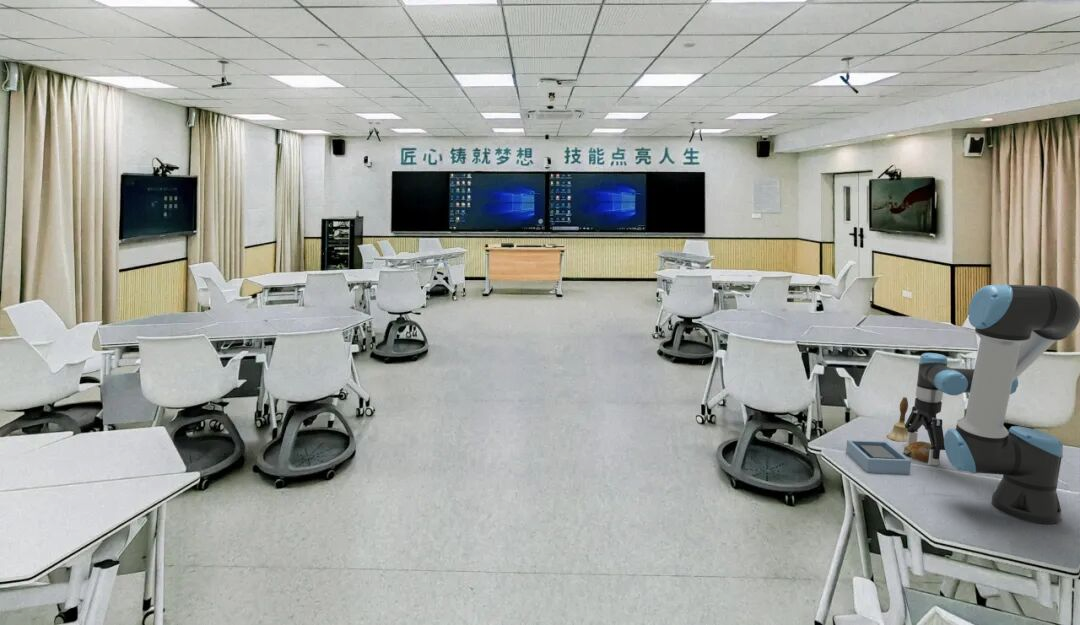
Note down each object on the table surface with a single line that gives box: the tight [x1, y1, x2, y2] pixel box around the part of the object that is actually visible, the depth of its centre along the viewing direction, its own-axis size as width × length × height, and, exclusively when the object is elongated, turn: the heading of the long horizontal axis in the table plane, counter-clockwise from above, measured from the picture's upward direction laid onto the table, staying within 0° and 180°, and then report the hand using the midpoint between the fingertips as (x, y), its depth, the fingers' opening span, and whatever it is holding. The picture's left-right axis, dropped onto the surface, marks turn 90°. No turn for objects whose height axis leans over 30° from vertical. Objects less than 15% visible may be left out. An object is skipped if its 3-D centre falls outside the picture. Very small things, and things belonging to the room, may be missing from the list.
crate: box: [845, 439, 912, 475], centre depth 193 cm, size 16×13×6 cm
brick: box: [860, 445, 896, 459], centre depth 193 cm, size 10×7×4 cm
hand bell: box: [886, 396, 909, 443], centre depth 216 cm, size 8×8×16 cm
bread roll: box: [902, 440, 941, 465], centre depth 198 cm, size 10×10×8 cm
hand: (921, 458), depth 199 cm, fingers open, 13 cm apart
